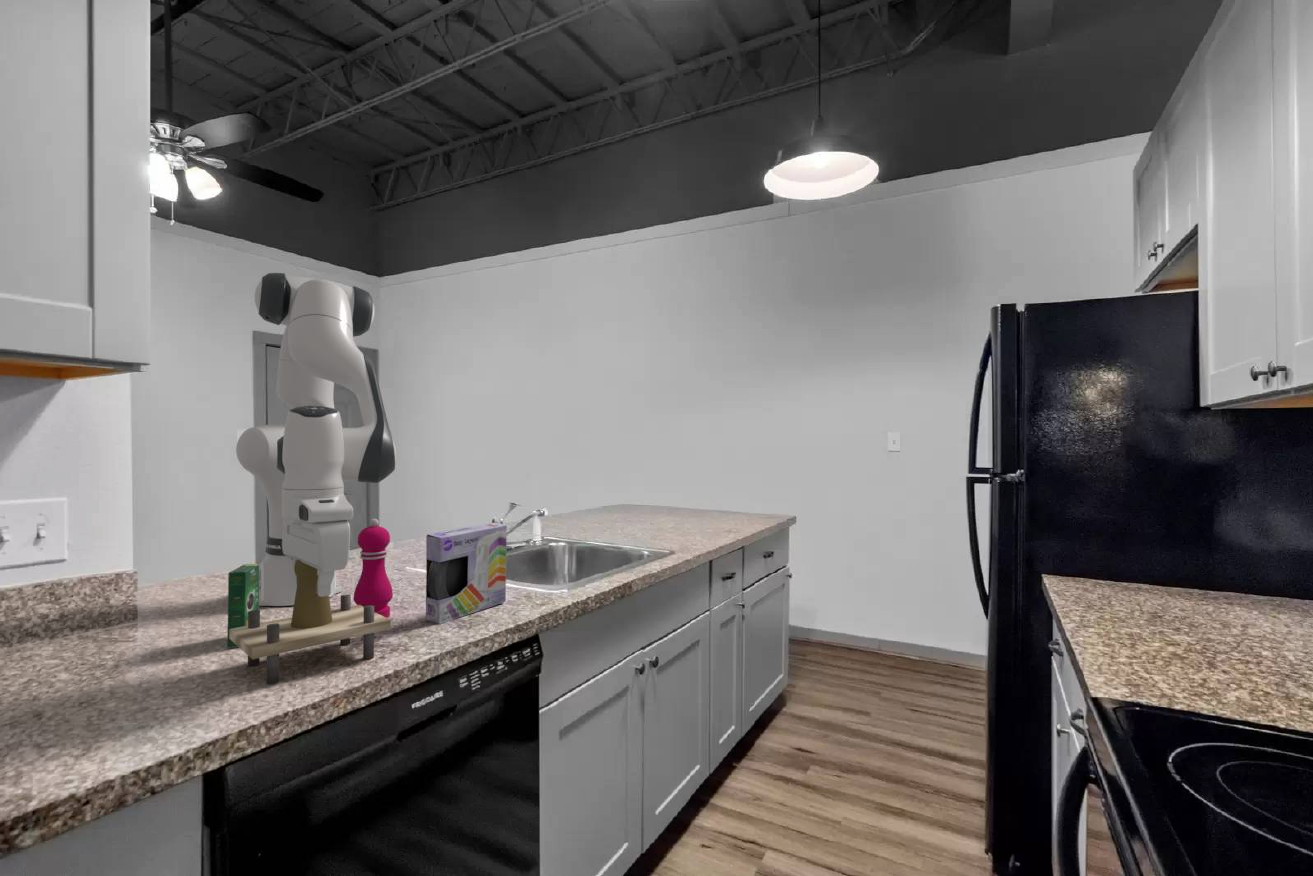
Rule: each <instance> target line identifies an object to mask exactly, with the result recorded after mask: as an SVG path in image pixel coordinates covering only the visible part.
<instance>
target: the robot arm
mask: <svg viewBox="0 0 1313 876" xmlns="http://www.w3.org/2000/svg"><path fill="white" fill-rule="evenodd" d="M254 303H255V307H256V310H257V312H258V315H259V317H261V318H262V319H263V321H265V322H268V323H270V324H273V325H277V326H280V325H282V326H283V325H284V326H285V328H284V332H283V335H282V339H281V344H280V348H279V349H280V350H279V358H278V365H277V368H278V369H277V378H276V388H275V391H276V396H277V398H278V399H279V400H280V401H281V402H282V403H284V404H285V405H287V406H288V407H289V408H290V409H289V410H288V412H287V416H286V420H285V423H277V424H276V423H269V424H263V425H259V426H258V425H257V426H255V427H254V426H253V427H249V428H247V429H245V430H244V431H243V432H242V433H241V435H240V436H239V438H238V440H237V443H236V448H235V451H236V452H235V453H236V458H237V461H238V462H239V464H240V465H241V467H242V468H243V469H244V470H245V471H247V472H249V473H250V474H251V475H252V476H254V477H255V478H256V480H257V481H258V482H259V484H260V485H261V487H262V489H263V491H264V494H265V496H266V497H265V498H266V500H267V507H268V524H269V529H268V531H269V532H268V533H269V536H268V537H267V538H266V543H265V553H266V554H265V556H264V558H263V559H262V561H261V562H260V563H259V607H261V606H262V607H263V606H271V607H284V606H285V607H287V606H294V601H295V595H296V588H297V582H298V577H297V576H296V574H295V571H294V566H295V562H296V561H297V560H300V561H301V562H302V563H304V564H307V565H309V566H311V567H313V568H316V569H317V575H318V583H317V584H316V594H317V595H318V596H320V597H323V596H328V595H329V598H331V597H333V596H335V594H339V593H340V592H343V586H341V585H338V584H337V581H336V580H337V578H336V576H337V575H336V571H340V570H344V569H345V568H346V567H347V565H348V562H349V559H350V548H351V547H350V545H351V544H350V543H351V524H350V522H349V521H350V520H351V521H352V520H353V519H354V506H353V505H351V503H350V502H349V501H348V499H347V498H346V495H345V494H344V493H345V492H344V491H345V485H344V482H359V483H372V484H375V483H376V484H378V483H380V482H382V481H383V480H384V479H386V478H387V477H389V476H390V475H391V474H392V473H393V472H394V471H395V469H396V465H397V461H398V460H397V459H398V452H397V446H396V443H395V440H394V438H393V435H392V433H391V429H390V425H389V422H388V418H387V415H386V414H387V413H386V409H385V405H384V401H383V397H382V393H381V388H380V384H379V381H378V377H377V373H376V368H375V366H374V363H373V360H372V359H371V358H370V356H369V355H367V354H365V353H364V352H362V351H361V350H360V348H358V346H357V344H356V343H355V340H354V337H358V336H359V337H360V336H362V335H363V334H365V333H367V332H368V331H369V330H370V327H371V326H372V324H373V322H374V319H375V316H376V315H375V313H376V311H375V310H376V309H375V303H374V300H373V296H372V295H371V294H370V292H369V291H367V290H365V289H363V288H360V287H357V286H350V285H346V284H343V283H340V282H337V281H332V280H329V279H326V278H325V279H324V278H315V277H307V276H300V275H289V274H285V273H284V272H268V273H266V274H265V275H263V276H262V277H261V279H260V281H259V282H258V284H257V285H256V288H255V291H254ZM335 384H337V385H339V386H341V387H344V388H345V389H348V390H349V391H351V392H352V393H353V394H354V395H355V396H356V397H357V398H356V399H357V401H358V404H359V409H360V413H361V414H360V415H361V418H362V423H363V425H362V426H360V427H343V423H342V418H341V414H340V411H339V410H337V409H336V408H335V403H334V391H335V390H334V389H335Z"/></svg>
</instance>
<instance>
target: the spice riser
mask: <svg viewBox="0 0 1313 876" xmlns="http://www.w3.org/2000/svg"><path fill="white" fill-rule="evenodd" d="M351 596H352V595H351V594H346V593H345V594H342V595H340V608H335V609H331V614H332V622H331V623H329V624H327V625H324V626H320V627H314V628H293V627H291V621H292V616H291V617H287V618H286V617H285V618H282V619H276V620H271V621H266V622H265V621H264V622H261V610H252V611H249V612H248V626H243V627H238V628H232V629H229V639H230V640H231V641H233V642H234V643H235V644H236V645H237V646H238V647H237V648H239V649H240V650H241V651H243V652H244V653H245V654H246V656H247V666H248V667H255V665H256V666H258V665H260V663H261V662H260V659H261V658H265V657H266V669H265V670H266V673H265V674H266V675H265V676H266V678H265V679H266V684H267V685H272V684H273V683H274V684H277V683H279V682H280V654H282V653H289V652H293V651H296V650H302V649H306V648H310V647H315V646H320V645H324V644H327V643H328V644H329V643H334V642H337V641H339V645H340V646H347V645H350V644H351V638H356V637H360V636H363V639H362V640H363V641H362V643H363V645H362V647H363V649H362V650H363V652H362V656H363V657H362V659H363V660H367V661H368V660H372V659H374V657H375V633H378V632H383V631H388V630H391V627H392V623H391V621H392V620H391V619H390V618H389V617H388V618H386V617H384V616H382V615H380V614H378V613H375V612H374V606H372V605H370V606H365V607H363V606H361V605H357V604H356V605H353V606H352V605H351V604H352V603H351V602H352V600H351V598H352V597H351ZM276 682H277V683H276Z"/></svg>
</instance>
